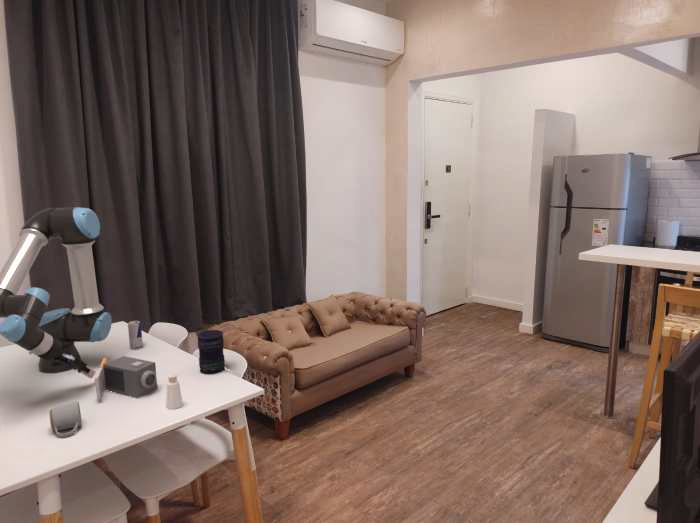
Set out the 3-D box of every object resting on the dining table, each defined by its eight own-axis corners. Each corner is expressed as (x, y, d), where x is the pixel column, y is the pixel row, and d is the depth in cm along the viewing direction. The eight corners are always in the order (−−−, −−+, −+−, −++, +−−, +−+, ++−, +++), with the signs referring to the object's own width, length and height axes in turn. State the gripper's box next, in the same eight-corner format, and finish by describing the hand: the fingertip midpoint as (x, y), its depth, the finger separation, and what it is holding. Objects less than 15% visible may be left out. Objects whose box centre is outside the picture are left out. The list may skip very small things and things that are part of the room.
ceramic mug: (52, 425, 158) (49, 403, 156) (81, 419, 162) (78, 396, 160) (51, 441, 149) (48, 418, 147) (82, 434, 153) (80, 411, 151)
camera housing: (105, 390, 183) (102, 363, 181) (125, 380, 191) (123, 354, 189) (141, 399, 175) (139, 371, 173) (161, 389, 183) (159, 361, 181)
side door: (105, 377, 192) (103, 356, 190) (108, 376, 192) (106, 356, 191) (96, 400, 172) (94, 377, 171) (100, 400, 173) (98, 377, 171)
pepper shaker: (173, 411, 167) (171, 379, 165) (162, 407, 169) (160, 376, 167) (186, 404, 171) (184, 374, 169) (175, 400, 174) (173, 370, 172)
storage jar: (217, 363, 208) (215, 328, 205) (229, 369, 201) (227, 333, 198) (194, 369, 201) (192, 334, 198) (207, 376, 194) (204, 339, 191)
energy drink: (145, 346, 228) (143, 321, 225) (137, 350, 223) (134, 324, 220) (136, 345, 229) (133, 320, 227) (127, 349, 224) (125, 323, 222)
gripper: (25, 353, 170) (74, 381, 188) (50, 359, 164) (99, 387, 182) (38, 333, 174) (86, 362, 191) (64, 338, 168) (110, 368, 186)
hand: (92, 374), depth 187 cm, fingers closed
